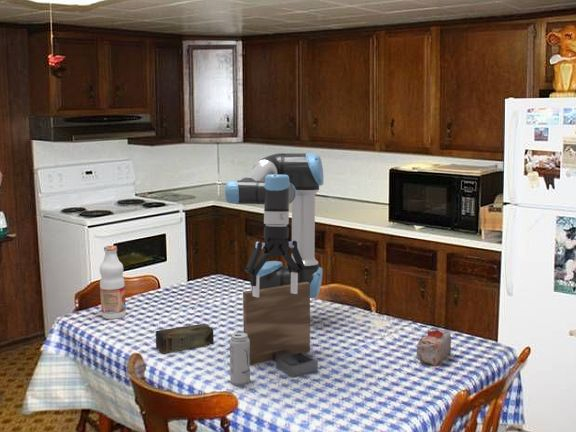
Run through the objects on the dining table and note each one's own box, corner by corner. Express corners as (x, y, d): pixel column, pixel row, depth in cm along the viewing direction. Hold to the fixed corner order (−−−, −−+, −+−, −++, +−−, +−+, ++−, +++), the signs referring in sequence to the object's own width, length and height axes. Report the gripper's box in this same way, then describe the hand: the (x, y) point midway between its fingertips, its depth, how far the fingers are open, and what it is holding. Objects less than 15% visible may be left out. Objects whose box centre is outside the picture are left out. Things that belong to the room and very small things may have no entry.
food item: (437, 368, 222) (438, 338, 220) (414, 363, 226) (415, 334, 225) (452, 355, 233) (453, 326, 232) (430, 350, 238) (430, 322, 236)
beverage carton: (214, 345, 244) (214, 327, 243) (162, 355, 235) (161, 336, 234) (206, 338, 251) (205, 320, 250) (154, 348, 242) (153, 329, 241)
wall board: (244, 363, 227) (243, 291, 223) (306, 349, 239) (306, 281, 235) (247, 365, 225) (245, 293, 221) (309, 351, 237) (309, 282, 233)
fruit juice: (98, 315, 278) (94, 246, 273) (120, 310, 284) (117, 243, 279) (107, 321, 271) (103, 250, 266) (129, 316, 276) (126, 247, 271)
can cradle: (266, 361, 229) (266, 351, 228) (291, 355, 233) (291, 345, 233) (291, 377, 215) (291, 366, 215) (317, 371, 220) (317, 360, 219)
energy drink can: (247, 387, 208) (246, 339, 206) (227, 385, 209) (226, 337, 207) (252, 379, 214) (251, 332, 211) (233, 377, 215) (232, 331, 213)
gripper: (246, 226, 202) (245, 299, 203) (317, 225, 215) (315, 293, 216) (234, 225, 208) (233, 296, 209) (303, 223, 221) (302, 290, 222)
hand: (275, 295), depth 213 cm, fingers open, 13 cm apart
